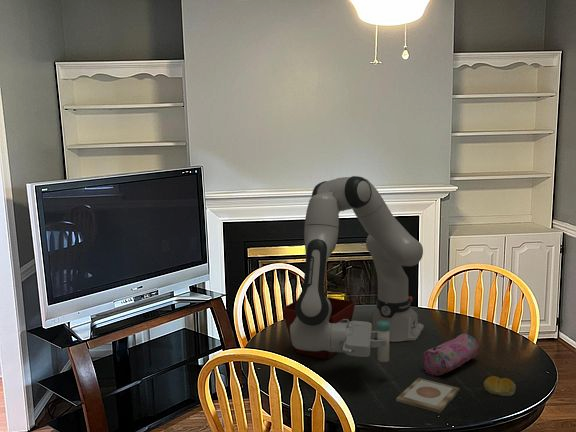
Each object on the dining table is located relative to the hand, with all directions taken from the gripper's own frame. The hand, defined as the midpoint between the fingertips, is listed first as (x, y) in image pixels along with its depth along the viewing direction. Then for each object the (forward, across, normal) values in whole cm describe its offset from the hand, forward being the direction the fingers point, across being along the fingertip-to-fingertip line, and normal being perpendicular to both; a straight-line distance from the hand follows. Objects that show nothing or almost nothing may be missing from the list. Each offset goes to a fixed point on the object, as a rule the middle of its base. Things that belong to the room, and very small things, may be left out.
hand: (386, 339), depth 187 cm
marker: (-1, 0, +6) cm, 7 cm away
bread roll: (+34, -2, +14) cm, 36 cm away
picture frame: (+12, -9, +14) cm, 20 cm away
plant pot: (-23, +21, +14) cm, 34 cm away
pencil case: (+20, +13, +14) cm, 28 cm away
